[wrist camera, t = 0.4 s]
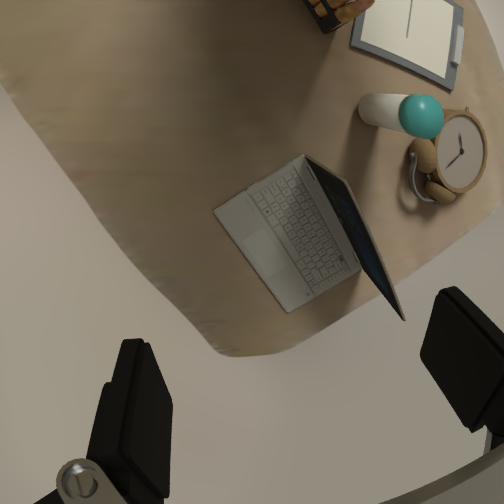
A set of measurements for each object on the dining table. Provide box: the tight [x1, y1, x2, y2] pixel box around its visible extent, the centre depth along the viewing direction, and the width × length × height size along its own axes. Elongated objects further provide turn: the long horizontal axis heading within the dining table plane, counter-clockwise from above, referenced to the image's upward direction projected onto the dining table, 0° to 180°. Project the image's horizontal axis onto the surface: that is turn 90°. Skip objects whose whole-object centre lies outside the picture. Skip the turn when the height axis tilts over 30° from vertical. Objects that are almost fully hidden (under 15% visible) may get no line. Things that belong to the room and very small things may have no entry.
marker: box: [358, 94, 444, 139], centre depth 28 cm, size 4×4×12 cm
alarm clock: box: [408, 107, 487, 205], centre depth 36 cm, size 11×5×15 cm
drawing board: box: [350, 0, 464, 91], centre depth 28 cm, size 14×16×1 cm
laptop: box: [213, 154, 406, 321], centre depth 35 cm, size 18×12×13 cm
